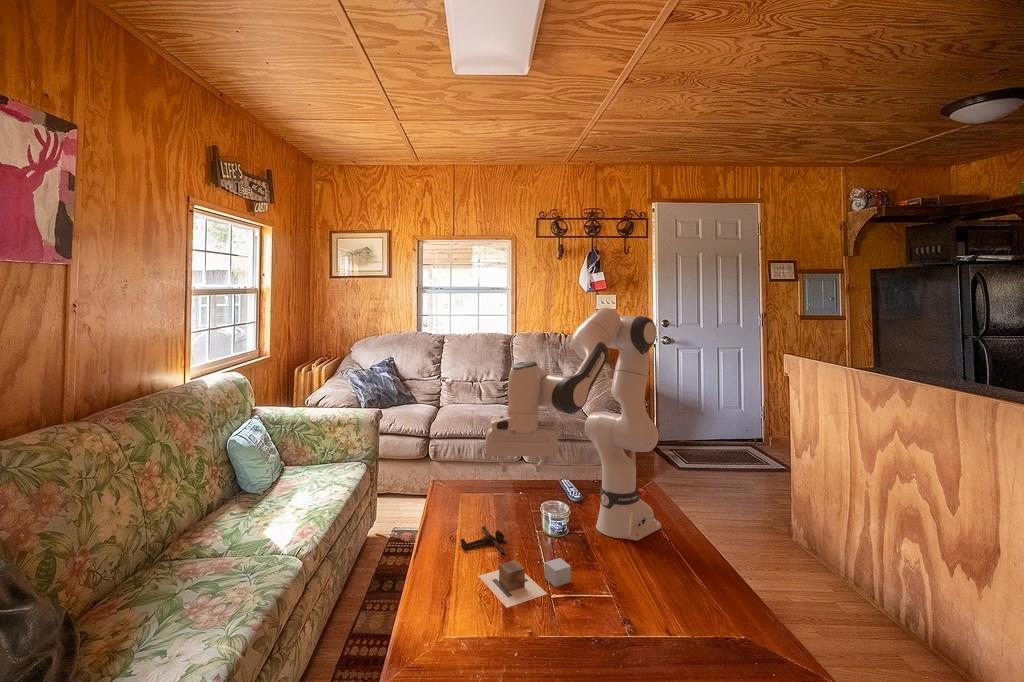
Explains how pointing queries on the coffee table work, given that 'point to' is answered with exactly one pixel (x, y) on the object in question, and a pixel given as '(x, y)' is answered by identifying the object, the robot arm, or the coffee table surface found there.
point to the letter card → (516, 595)
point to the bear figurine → (485, 541)
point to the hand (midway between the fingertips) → (520, 471)
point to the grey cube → (557, 572)
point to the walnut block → (511, 575)
